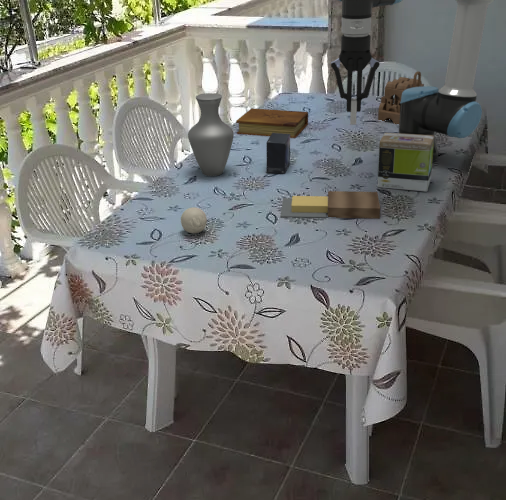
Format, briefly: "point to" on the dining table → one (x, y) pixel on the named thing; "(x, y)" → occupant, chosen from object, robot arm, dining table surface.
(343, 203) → the brown flat block
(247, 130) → the diary
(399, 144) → the tea box
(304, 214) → the mat
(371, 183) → the dining table surface
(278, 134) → the small box
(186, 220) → the baseball
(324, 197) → the yellow block
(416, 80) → the wooden puzzle
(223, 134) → the vase
